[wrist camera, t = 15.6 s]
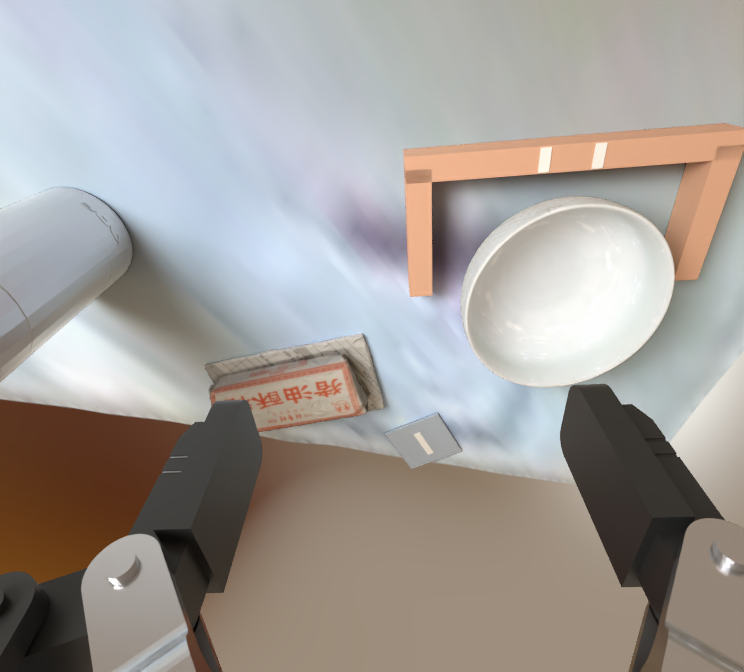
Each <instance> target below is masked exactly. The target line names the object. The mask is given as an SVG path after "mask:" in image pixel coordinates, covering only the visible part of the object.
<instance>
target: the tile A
mask: <svg viewBox="0 0 744 672" xmlns="http://www.w3.org/2000/svg"><path fill="white" fill-rule="evenodd" d="M385 435H386V437H387V438H388V439H389V441H390V442H391V443H392V445H393V446H394V447H395V448H396V450H397V451H398V452H399V454H400V455H401V456H402V458H403V459H404V460H405V461H406V463H407V464H408V465H409V467H410V468H411V469H413V468H416V467H418V466H421V465H424V464H427V463H430V462H433V461H435V460H438V459H441V458H444V457H447V456H450V455H453V454H455V453H458V452H461V448H460V446H459V445H458V443H457V442H456V440H455V439H454V437H453V436H452V434H451V432H450V431H449V429H448V428H447V426H446V425H445V423H444V422H443V420H442V419H441V417H440V416H439V414H438V413H435V414H432V415H430V416H427V417H425V418H422V419H419V420H417V421H414V422H412V423H409V424H406V425H404V426H401V427H399V428H396V429H393V430H391V431H388V432H386V433H385Z"/></svg>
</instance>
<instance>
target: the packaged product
mask: <svg viewBox="0 0 744 672" xmlns="http://www.w3.org/2000/svg"><path fill="white" fill-rule="evenodd" d="M205 369H206V370H207V372H208V374H209V376H210V378H211V379H212V381H213V382H214V385H211V387H210V388H209V394H210V400H211V405H213V404H214V402H216V401H225V400H247V401H248V403H249V405H250V408H251V411H252V414H253V417H254V420H255V424H256V427H257V430H258V432H262V431H270V430H273V429H280V428H287V427H292V426H300V425H305V424H311V423H316V422H321V421H328V420H334V419H339V418H345V417H353V416H359V415H363V414H365V413H366V412H368V411H370V410H376V409H383V408H384V405H383V398H382V393H381V390H380V387H379V384H378V381H377V379H376V375H375V371H374V367H373V363H372V359H371V355H370V352H369V349H368V346H367V344H366V341H365V339H364V337H363V334H356V335H350V336H344V337H339V338H335V339H331V340H326V341H321V342H317V343H311V344H306V345H300V346H294V347H289V348H284V349H276V350H270V351H267V352H261V353H258V354H254V355H251V356H244V357H238V358H233V359H228V360H223V361H219V362H215V363H211V364H207V365H205ZM211 407H212V406H211Z"/></svg>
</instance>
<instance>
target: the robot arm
mask: <svg viewBox="0 0 744 672" xmlns="http://www.w3.org/2000/svg"><path fill="white" fill-rule="evenodd" d="M132 254H133V252H132V243H131V240H130V236H129V233H128V231H127V230H126V228H125V226H124V224H123V222H122V221H121V220H120V219H119V217H118V216H117V215H116V213H115V212H114V211H112V210H111V209H110V208H109V207H108V206H107V205H106V204H105V203H103V202H102V201H100V200H99V199H98V198H96V197H94V196H92V195H90V194H88V193H86V192H84V191H81V190H77V189H74V188H67V187H56V188H50V189H47V190H44V191H42V192H39V193H37V194H35V195H32V196H30V197H27V198H25V199H23V200H20V201H18V202H15V203H13V204H10V205H8V206H6V207H3V208H1V209H0V382H1V381H2V380H3V379H5V378H6V377H7V376H8V375H9V374H10V373H11V372H13V371H14V370H15V369H16V368H17V367H18V366H19V365H21V364H22V363H23V362H24V361H25V360H26V359H27V358H28V357H29V356H30V355H32V354H33V353H34V352H35V351H36V350H37V349H38V348H40V347H41V346H42V345H43V344H44V343H45V342H46V341H48V340H49V339H50V338H51V337H52V336H53V335H54V334H56V333H57V332H58V331H59V330H60V329H61V328H62V327H64V326H65V325H66V324H67V323H68V322H69V321H70V320H72V319H73V318H74V317H75V316H76V315H77V314H78V313H80V312H81V311H82V310H83V309H84V308H85V307H86V306H88V305H89V304H90V303H91V302H92V301H93V300H95V299H96V298H97V297H98V296H99V295H100V294H102V293H103V292H104V291H105V290H106V289H107V288H108V287H110V286H111V285H112V284H113V283H114V282H115V281H116V280H118V279H119V278H120V277H121V276H122V275H123V274H124V273H125V272H126V271H127V270H128V268H129V265H130V263H131V260H132ZM560 441H561V447H562V451H563V455H564V457H565V459H566V462H567V464H568V466H569V468H570V471H571V473H572V475H573V478H574V480H575V482H576V484H577V487H578V489H579V491H580V493H581V496H582V498H583V500H584V502H585V505H586V507H587V509H588V511H589V514H590V516H591V518H592V521H593V523H594V525H595V527H596V530H597V532H598V534H599V536H600V539H601V541H602V543H603V546H604V548H605V550H606V552H607V555H608V557H609V559H610V562H611V564H612V566H613V568H614V571H615V573H616V575H617V577H618V580H619V582H620V584H621V587H642V588H643V590H644V592H645V594H646V596H647V598H648V603H647V606H646V608H645V612H644V616H643V619H642V623H641V627H640V630H639V634H638V638H637V641H636V645H635V649H634V653H633V656H632V660H631V664H630V667H629V672H744V528H743V527H741V526H739V525H737V524H734V523H732V522H729V521H725V519H724V518H723V517H722V516H721V515H720V513H719V512H718V510H717V509H716V507H715V506H714V505H713V503H712V502H711V501H710V499H709V498H708V496H707V495H706V494H705V492H704V491H703V489H702V488H701V487H700V485H699V484H698V482H697V481H696V480H695V478H694V477H693V475H692V474H691V473H690V471H689V470H688V469H687V467H686V466H685V465H684V463H683V461H682V460H681V459H680V457H677V456H676V452H675V450H674V449H673V448H672V446H671V445H670V443H669V442H666V440H665V436H664V435H663V434H662V432H661V431H660V429H659V428H658V427H657V425H656V424H655V423H654V421H653V420H652V419H651V418H650V417H648V416H647V415H646V414H644V413H643V412H642V411H640V410H639V409H638V408H636V407H635V406H634V405H632V404H628V405H622V404H621V403H620V401H619V400H618V398H617V397H616V395H615V394H614V392H613V391H612V389H611V388H610V387H609V386H608V385H607V384H589V385H573V386H571V388H570V390H569V393H568V398H567V402H566V407H565V412H564V416H563V421H562V426H561V431H560ZM261 461H262V444H261V440H260V436H259V433H258V430H257V427H256V424H255V420H254V417H253V414H252V411H251V408H250V405H249V403H248V401H247V400H225V401H216V402H214V404H213V405H212V407H211V409H210V411H209V413H208V416H207V418H206V420H205V422H195V423H194V424H193V425H192V426H191V427H190V428H189V429H188V430H187V431H186V432H185V433H184V434H183V435H182V436H181V437H180V438H179V439H178V441H177V443H176V445H175V447H174V449H173V451H172V453H171V454H170V459H168V460H167V462H166V464H165V466H164V468H163V470H162V474H160V476H159V477H158V479H157V481H156V483H155V485H154V487H153V489H152V491H151V493H150V495H149V497H148V499H147V501H146V502H145V504H144V506H143V508H142V510H141V512H140V514H139V516H138V518H137V520H136V522H135V524H134V526H133V527H132V529H131V531H130V533H129V534H128V536H126V537H123V538H121V539H119V540H117V541H115V542H113V543H112V544H110V545H109V546H108V547H106V548H105V549H104V550H103V551H101V552H100V553H99V554H98V555H97V556H96V558H94V560H93V561H92V562H91V564H90V565H89V566H88V568H86V569H83V570H80V571H77V572H74V573H71V574H68V575H65V576H62V577H59V578H56V579H53V580H50V581H47V582H44V583H41V584H38V583H37V582H36V581H35V580H34V579H33V578H32V577H31V576H30V575H29V574H27V573H24V572H10V573H6V574H3V575H0V672H223V671H222V668H221V666H220V663H219V660H218V657H217V655H216V652H215V649H214V647H213V644H212V641H211V638H210V636H209V633H208V630H207V628H206V625H205V622H204V619H203V617H202V614H201V612H200V610H201V606H202V603H203V600H204V597H205V594H206V593H223V592H224V589H225V586H226V582H227V579H228V575H229V572H230V568H231V565H232V562H233V558H234V555H235V551H236V548H237V544H238V541H239V538H240V534H241V531H242V528H243V524H244V521H245V517H246V514H247V510H248V507H249V504H250V500H251V497H252V493H253V490H254V487H255V483H256V480H257V476H258V473H259V469H260V466H261Z"/></svg>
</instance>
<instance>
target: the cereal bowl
mask: <svg viewBox="0 0 744 672" xmlns="http://www.w3.org/2000/svg"><path fill="white" fill-rule="evenodd" d="M674 281H675V270H674V262H673V257H672V253H671V250H670V248H669V245H668V243H667V241H666V239H665V238H664V236H663V235H662V233H661V232H660V230H659V229H658V228H657V227H656V226H655V225H654V224H653V223H652V222H651V221H649V220H648V219H647V218H645V217H644V216H643V215H641V214H640V213H638V212H636V211H634V210H632V209H630V208H628V207H626V206H623V205H620V204H618V203H616V202H611V201H608V200H606V199H600V198H595V197H585V196H581V197H575V196H572V197H563V198H557V199H551V200H548V201H544V202H541V203H537V204H536V205H533V206H531V207H529V208H526V209H524V210H523V211H520V212H518V213H517V214H515V215H513V216H512V217H510V218H509V219H508V220H506V221H504V222H503V223H502V224H500V225H499V227H498V228H496V229H495V230H494V231H493V232H492V233H491V234H490V235H489V236H488V238H486V239H485V241H484V242H483V243H482V245H481V246H480V247H479V248H478V250H477V252H476V253H475V255H474V257H473V258H472V260H471V262H470V264H469V267H468V268H467V272H466V274H465V278H464V282H463V285H462V291H461V318H462V320H463V327H464V330H465V334H466V337H467V339H468V341H469V344H470V346H471V348H472V350H473V351H474V353H475V355H476V356H477V357H478V359H479V360H480V361H481V362H482V363H483V364H484V365H485V366H486V367H487V368H488V369H489V370H490V371H492V372H493V373H495V374H496V375H498V376H500V377H501V378H503V379H506V380H508V381H510V382H513V383H517V384H521V385H525V386H532V387H558V386H567V385H571V384H576V383H580V382H583V381H586V380H589V379H592V378H594V377H597V376H599V375H601V374H603V373H605V372H607V371H609V370H611V369H613V368H614V367H616V366H618V365H620V364H621V363H622V362H624V361H625V360H627V359H628V358H629V357H631V356H632V355H633V354H634V353H635V352H637V351H638V350H639V349H640V348H641V347H642V346H643V345H644V344H645V343H646V342H647V341H648V339H649V338H650V337H651V336H652V334H653V333H654V332H655V330H656V329H657V327H658V326H659V324H660V323H661V321H662V319H663V318H664V316H665V314H666V312H667V309H668V307H669V304H670V301H671V298H672V294H673V289H674Z"/></svg>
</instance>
